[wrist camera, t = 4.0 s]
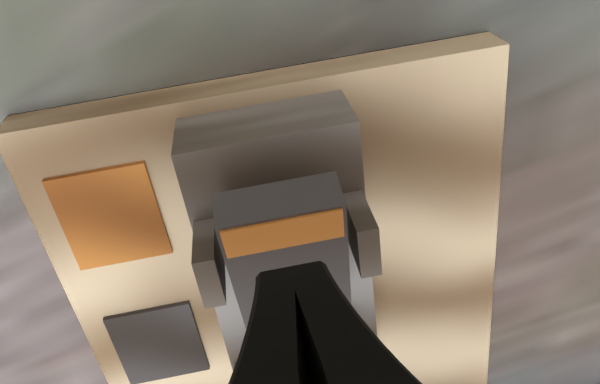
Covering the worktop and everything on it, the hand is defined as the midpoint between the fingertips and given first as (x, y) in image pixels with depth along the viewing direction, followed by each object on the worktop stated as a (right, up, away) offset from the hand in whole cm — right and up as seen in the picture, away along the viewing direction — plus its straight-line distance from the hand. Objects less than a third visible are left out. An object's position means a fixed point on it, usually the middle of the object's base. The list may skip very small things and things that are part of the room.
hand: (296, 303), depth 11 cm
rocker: (0, 0, +4) cm, 4 cm away
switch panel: (0, -2, +12) cm, 12 cm away
